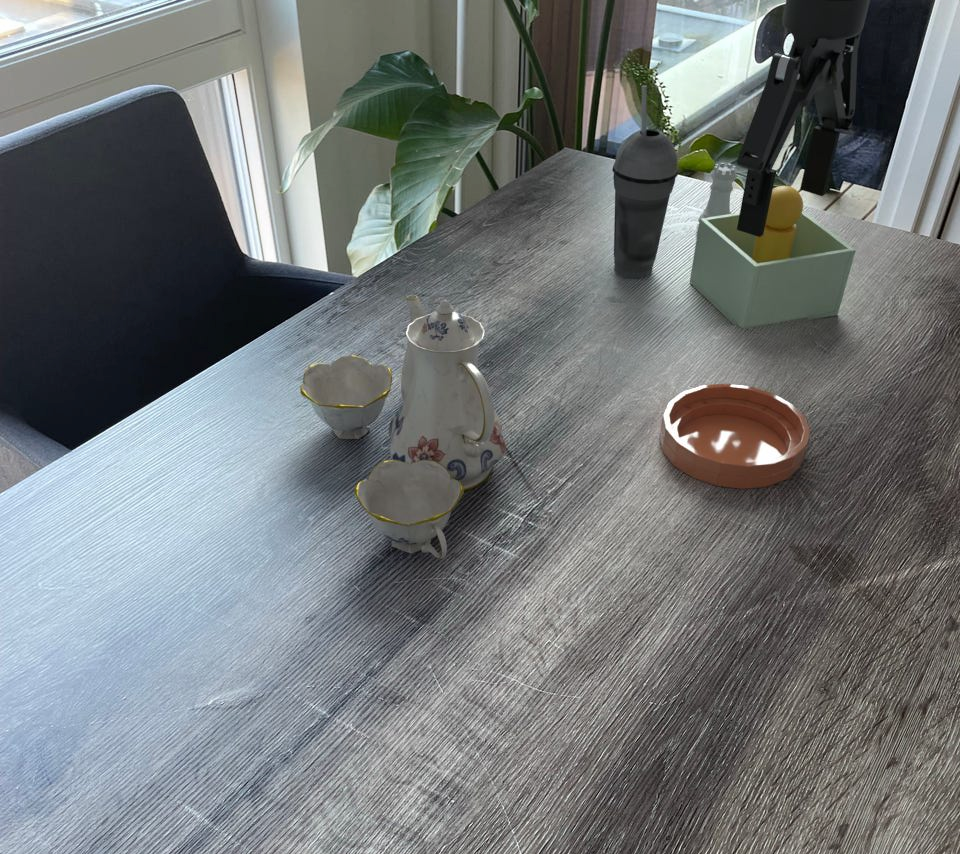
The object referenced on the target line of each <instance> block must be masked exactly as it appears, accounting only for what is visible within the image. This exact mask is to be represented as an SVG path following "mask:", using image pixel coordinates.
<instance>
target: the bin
mask: <svg viewBox="0 0 960 854" xmlns="http://www.w3.org/2000/svg"><path fill="white" fill-rule="evenodd" d="M739 215H740V212H735V213H731V214H728V215H721V216H714V217H708V218H701V219H700V222H699V221H698V224H699V228H698V230H697V233H696V234H697V235H696V241H695V247H694V253H693V258H692V264H691V265H692V266H691V270H690V278H689V283H690V284H691V285H692V287H694V288H695V289H696V290H697V291H698V292H699V293H700V294H701V295H702V296H703V297H704V298H705V299H706V300H707V301H708V302H709V303H710V304H711V305H712V306H714V307H715V308H716V309H717V311H718V312H720V314H722V315H723V316H724V317H725V318H726V319H727V320H728V321H729V322H730V323H731V324H732V325H733V326H734V325H737V326H739V327H740V328H741V329H750V328H755V327H760V326H767V325H772V324H776V323H783V322H789V321H793V320H799V319H804V318H805V319H806V318H807V319H808V320H809V321H814V320H818V319H823V318H829V317H834V316H838V315H839V311H840V308H841V305H842V301H843V297H844V294H845V291H846V286H847V283H848V279H849V277H850V276H849V275H850V272H851V268H852V266H853V262H854V258H855V254H856V249H855V248H854V247H852V246H851V245H849V244H848V243H847V242H846V241H844V240H843V239H842V238H841V237H839V236H837V235H836V234H835V233H833V231H831V230H829V229H828V228H827V227H826V226H824V225H823V224H822V223H821V222H819V221H818V220H816V219H815V218H814V217H813V216H811V215H810V214H808V213H807V212H806V211H804V210H803V211H802V214H801V216H800V218H799V220H798V221H797V222H796V223H795V224H796V226H797V228H796V232H795V237H794V241H793V245H792V250H791V254H790V258H789V259H782V260H776V261H770V262H764V263H758V264H757V263H756V262H755V261H754V260H753V259H752V255H753V250H754V245H755V241H756V236H754V235H751V234H748V233H745V232H742V231H739V230H737V226H738V220H739Z"/></svg>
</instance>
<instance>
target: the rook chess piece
mask: <svg viewBox="0 0 960 854" xmlns="http://www.w3.org/2000/svg"><path fill="white" fill-rule="evenodd" d="M736 168H737V167H736V165H733V164H732V163H727V165H726V166H725V162H720V163H715V164H714V168H713V169H712V170H711V171H710V174H709V176H710V178H711V179H712V183H711V184H710V185H709V189H710V194H709V198H708V201H707V204H706V207H705V208H704V209H703V211H702V213H701V214H699V217H698V220H697V221H698V224H697V225H696V230H697V231H698V228H699V222H700V219H701V218H708V217H714V216H721V215H728V214H732V212H731V208H730V206H731V194H732V191H734V187H733V183H734V181H735V180H737V178H738V174H737V172H736Z"/></svg>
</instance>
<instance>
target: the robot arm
mask: <svg viewBox="0 0 960 854" xmlns="http://www.w3.org/2000/svg"><path fill="white" fill-rule="evenodd" d="M870 2H871V0H785V3H784V4H785V5H784V10H783V16H782V19H781V20H782V21H781V23H782V26H783V28H784V29H785V30H786V31H787V32H790V34H791V36H792V37H793V41H792V44H791V46H790V49H789V52H788V55H787V54H781V53H777V52H776V53H774V54H773V55H772V58H771V62H770V65H769V69H768V74H767V77H766V78H767V79H766V82H765V85H764V87H763V90H762V93H761V95H760V98H759V101H758V103H757V106H756V109H755V111H754V114H753V116H752V119H751V122H750V125H749V128H748V130H747V133H746V136H745V138H744V141H743V144H742V145H741V149H740V151H739V154H738V156H737V161H736V165H737V166H739V167H742V168H745V169H747V171H746V177H745V184H744V189H743V192H742V193H743V194H742V198H741V205H740V210H739V213H740V215H739V220H738V226H737V230H739V231H742V232H745V233H748V234H751V235H754V236H757V237H761V236H762V235H763V234H764V229H765V224H766V219H767V214H768V210H769V205H770V200H771V195H772V190H773V188H774V185H775V180H776V175H777V169H774V166H775V163H776V162H777V160H778V157H779V155H780V153H781V151H782V149H783V147H784V145H785V143H786V141H787V139H788V137H789V134H790V133H791V131H792V129H793V127H794V125H795V123H796V121H797V118H798V116H799V114H800V112H801V110H802V109H803V108H806V107H807V106H809V104H810V103H811V101H812V99H813V98H814V102H815V108H816V112H817V118H818V123H819V125H821V126H819V125H816V126H815V127H813V129H812V134H811V139H810V143H809V148H808V152H807V157H806V160H805V165H804V169H803V174H802V178H801V182H800V188H799V190H800V191H803V192H806V193H809V194H813V195H817V196H820V197H823V196H824V195H826V194H827V193H826V192H827V188H828V184H829V180H830V176H831V172H832V168H833V164H834V160H835V157H836V156H835V155H836V152H837V148H838V143H839V139H840V135H841V132H840V130H841V131H843V132H849V131H850V130H851V128H852V125H853V117H854V115H855V111H856V99H857V97H856V96H857V73H858V50H859V46H860V40H861V36H862V31H863V29H864V26H865V22H866V19H867V14H868V11H869V10H868V9H869V6H870ZM851 118H852V119H851Z"/></svg>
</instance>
